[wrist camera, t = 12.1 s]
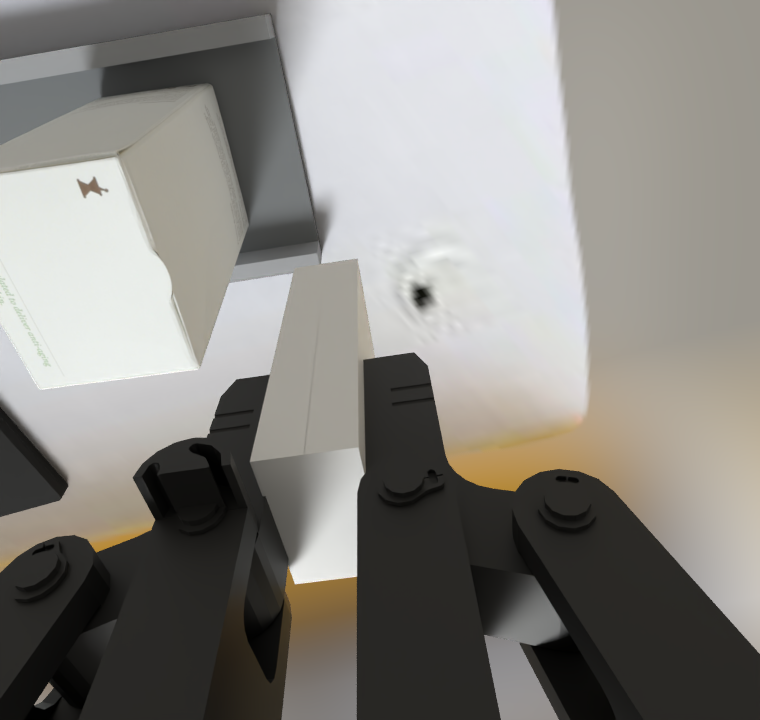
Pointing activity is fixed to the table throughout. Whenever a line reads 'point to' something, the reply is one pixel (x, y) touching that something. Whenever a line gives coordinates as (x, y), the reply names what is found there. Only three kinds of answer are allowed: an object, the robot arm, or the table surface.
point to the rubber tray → (236, 104)
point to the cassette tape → (24, 472)
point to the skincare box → (118, 236)
